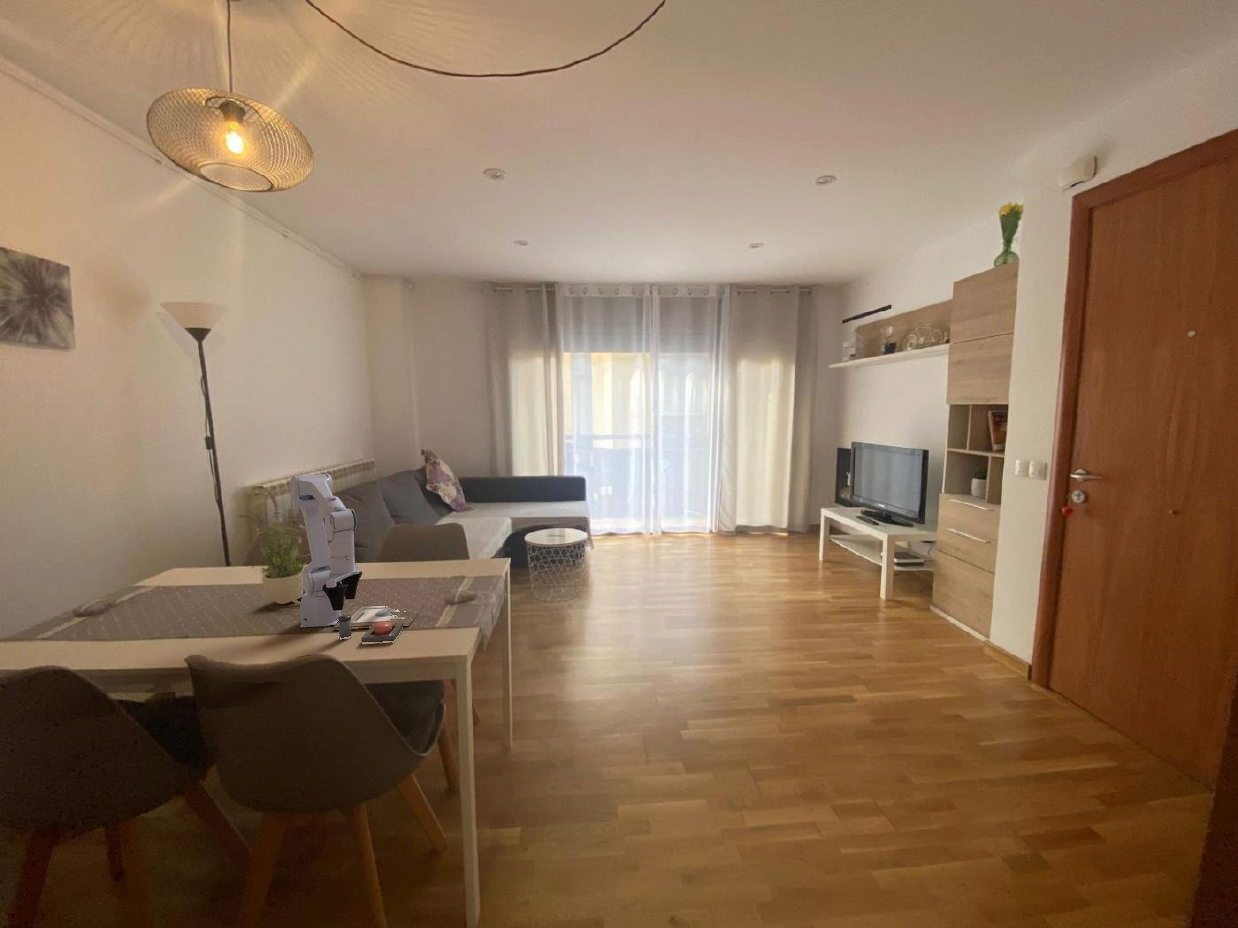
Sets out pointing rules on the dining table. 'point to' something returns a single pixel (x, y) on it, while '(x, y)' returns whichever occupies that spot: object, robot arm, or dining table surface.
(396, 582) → the dining table surface
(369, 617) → the drawing board
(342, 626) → the gray capped cylinder
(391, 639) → the button housing
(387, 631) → the button
